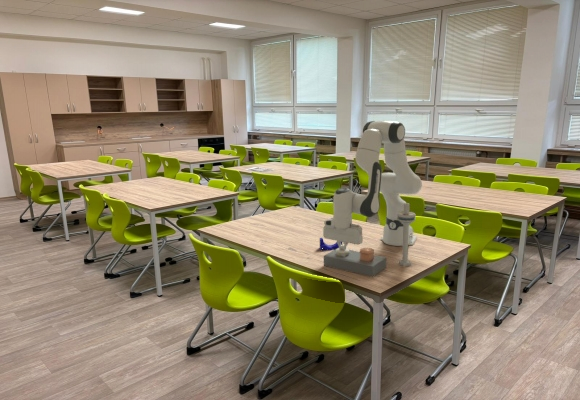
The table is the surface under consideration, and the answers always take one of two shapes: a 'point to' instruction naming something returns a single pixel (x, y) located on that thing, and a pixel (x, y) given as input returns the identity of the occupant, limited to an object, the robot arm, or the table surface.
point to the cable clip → (327, 247)
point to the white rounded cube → (342, 252)
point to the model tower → (405, 232)
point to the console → (355, 263)
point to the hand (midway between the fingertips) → (342, 249)
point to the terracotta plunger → (366, 254)
